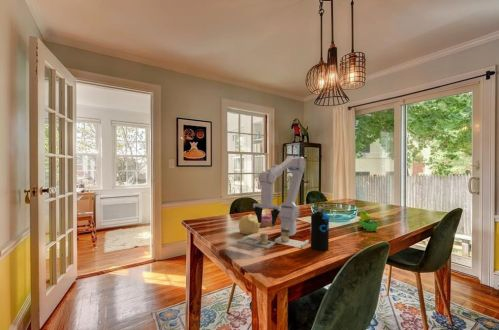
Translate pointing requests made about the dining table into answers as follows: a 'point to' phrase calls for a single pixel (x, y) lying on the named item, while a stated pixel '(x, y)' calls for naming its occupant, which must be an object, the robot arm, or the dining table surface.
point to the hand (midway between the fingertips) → (266, 223)
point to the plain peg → (285, 234)
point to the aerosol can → (319, 231)
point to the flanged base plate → (292, 242)
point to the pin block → (256, 242)
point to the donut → (266, 221)
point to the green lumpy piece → (367, 222)
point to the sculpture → (249, 224)
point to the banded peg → (263, 239)
